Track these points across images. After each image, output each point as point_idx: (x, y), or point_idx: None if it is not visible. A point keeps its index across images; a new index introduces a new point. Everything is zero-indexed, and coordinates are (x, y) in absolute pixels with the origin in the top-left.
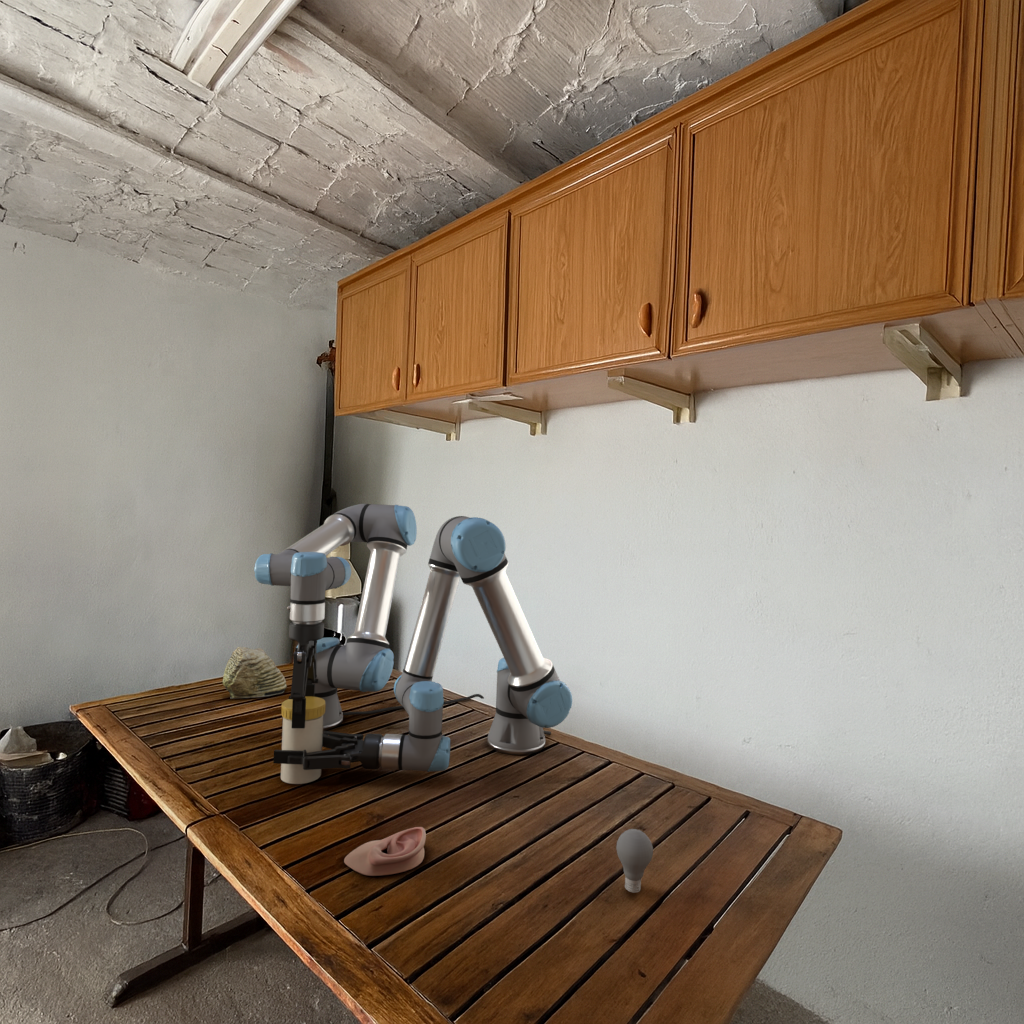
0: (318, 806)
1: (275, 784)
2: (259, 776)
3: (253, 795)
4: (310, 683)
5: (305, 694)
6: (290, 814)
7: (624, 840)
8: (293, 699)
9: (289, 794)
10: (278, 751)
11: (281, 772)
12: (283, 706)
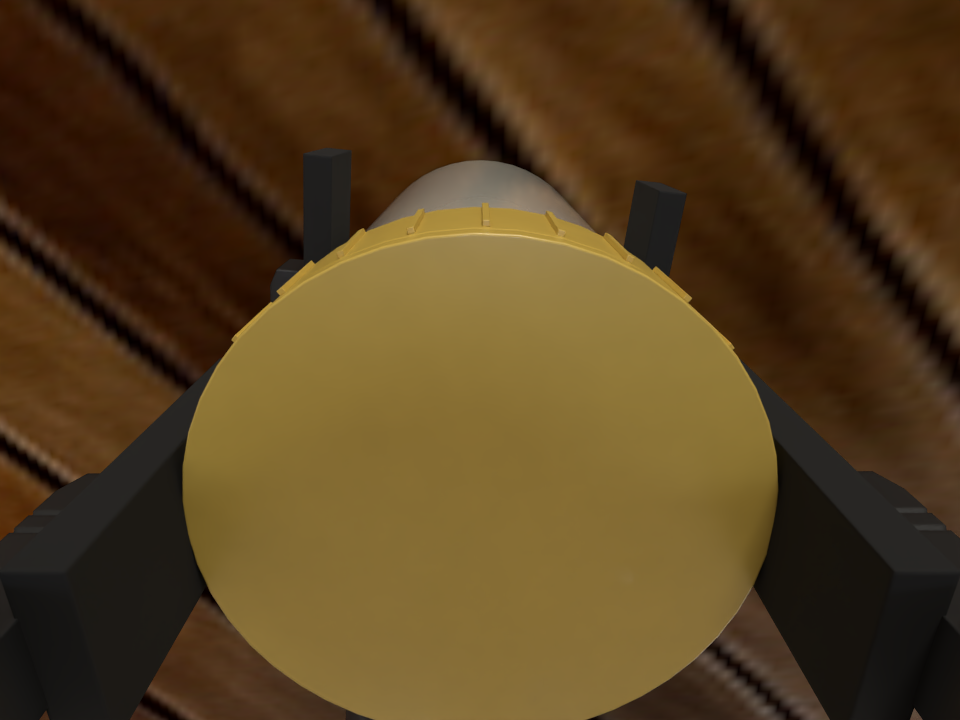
0: (150, 417)
1: (365, 155)
2: (473, 22)
3: (218, 61)
4: (931, 697)
5: (791, 514)
6: (51, 311)
7: None
8: (17, 573)
9: (252, 261)
10: (305, 192)
11: (420, 179)
12: (285, 294)
